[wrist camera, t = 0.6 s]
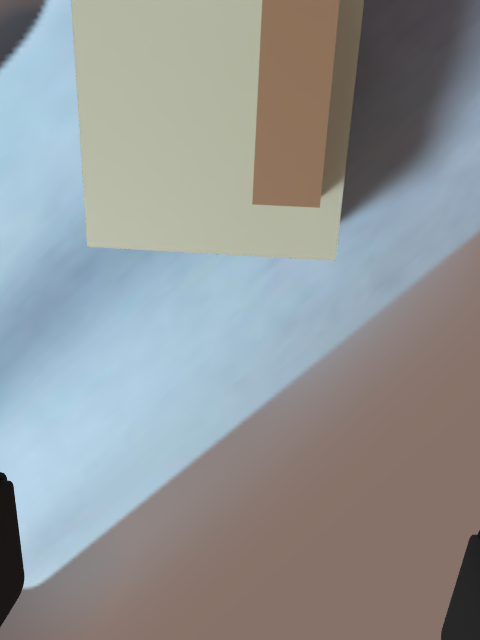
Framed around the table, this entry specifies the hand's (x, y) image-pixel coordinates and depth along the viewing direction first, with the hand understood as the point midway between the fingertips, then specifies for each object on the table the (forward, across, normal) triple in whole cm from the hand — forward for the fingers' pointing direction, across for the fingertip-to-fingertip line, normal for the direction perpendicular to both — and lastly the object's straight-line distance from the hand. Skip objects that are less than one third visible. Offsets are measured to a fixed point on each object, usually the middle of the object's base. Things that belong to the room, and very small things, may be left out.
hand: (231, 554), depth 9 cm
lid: (+19, +3, -11) cm, 22 cm away
